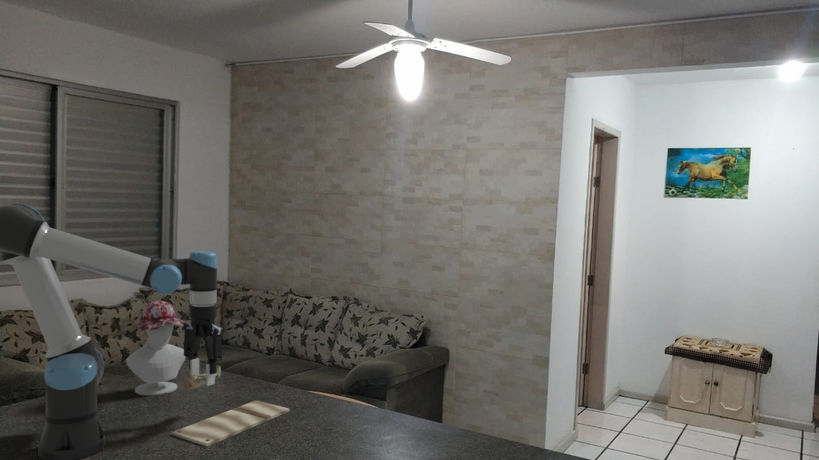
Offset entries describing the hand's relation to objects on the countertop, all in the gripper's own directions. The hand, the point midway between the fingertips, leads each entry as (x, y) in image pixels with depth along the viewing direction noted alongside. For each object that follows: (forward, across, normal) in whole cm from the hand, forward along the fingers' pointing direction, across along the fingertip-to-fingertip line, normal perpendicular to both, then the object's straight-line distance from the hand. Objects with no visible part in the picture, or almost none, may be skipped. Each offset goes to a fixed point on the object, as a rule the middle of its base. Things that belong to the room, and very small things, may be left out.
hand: (202, 382), depth 186 cm
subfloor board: (+10, -10, -2) cm, 15 cm away
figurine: (+1, 0, 0) cm, 1 cm away
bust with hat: (+11, +31, -11) cm, 35 cm away
